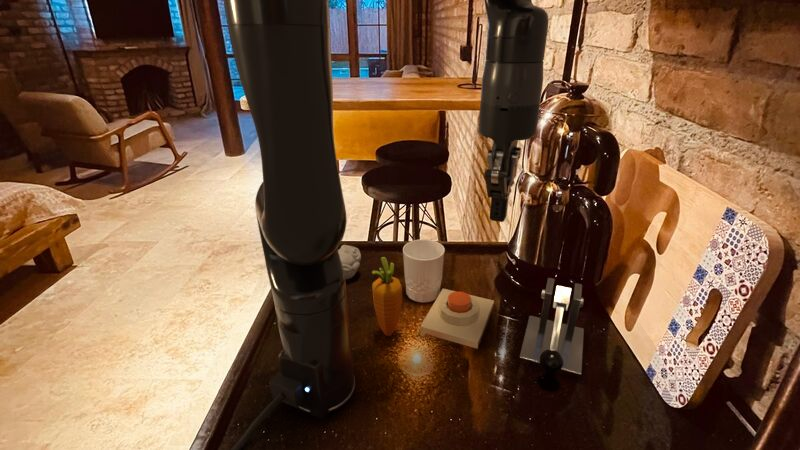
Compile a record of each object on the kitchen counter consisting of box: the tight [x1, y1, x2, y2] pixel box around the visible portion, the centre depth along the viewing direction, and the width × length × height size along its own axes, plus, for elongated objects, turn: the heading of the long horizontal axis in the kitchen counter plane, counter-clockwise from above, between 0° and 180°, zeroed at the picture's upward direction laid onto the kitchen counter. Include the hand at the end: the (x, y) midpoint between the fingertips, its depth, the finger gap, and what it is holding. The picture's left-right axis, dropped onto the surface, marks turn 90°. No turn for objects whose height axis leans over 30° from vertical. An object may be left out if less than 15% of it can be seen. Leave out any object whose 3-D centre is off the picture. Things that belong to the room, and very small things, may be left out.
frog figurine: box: [338, 244, 362, 280], centre depth 85 cm, size 6×7×7 cm
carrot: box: [371, 256, 403, 337], centre depth 67 cm, size 5×5×15 cm
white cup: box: [402, 238, 446, 304], centre depth 79 cm, size 8×8×10 cm
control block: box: [419, 288, 495, 349], centre depth 72 cm, size 12×10×4 cm
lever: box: [539, 284, 573, 374], centre depth 60 cm, size 13×3×3 cm
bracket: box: [518, 277, 585, 376], centre depth 64 cm, size 11×9×12 cm
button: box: [448, 291, 471, 313], centre depth 71 cm, size 4×4×2 cm
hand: (497, 219), depth 60 cm, fingers closed
